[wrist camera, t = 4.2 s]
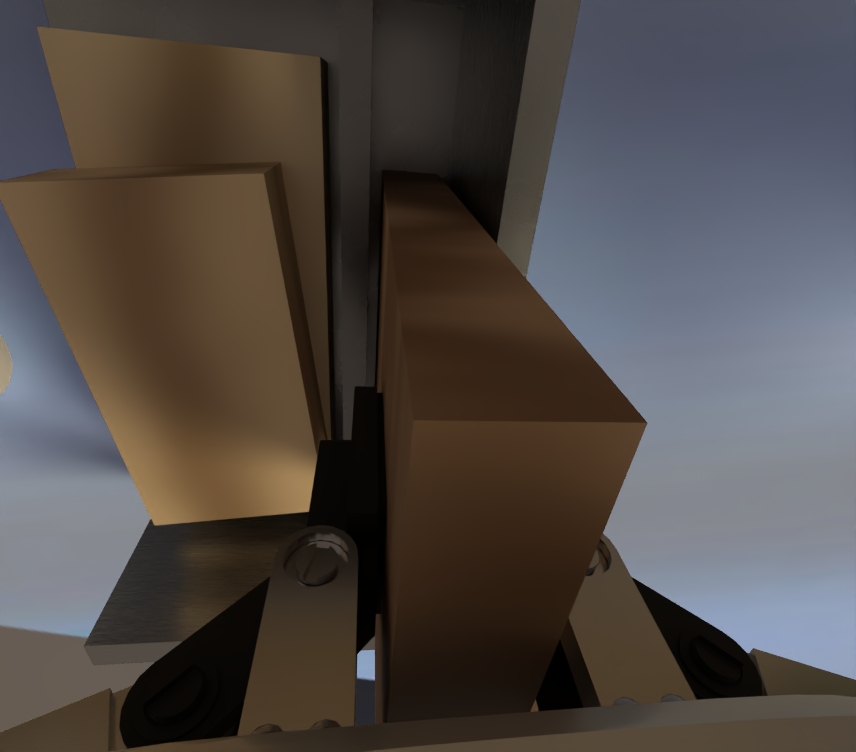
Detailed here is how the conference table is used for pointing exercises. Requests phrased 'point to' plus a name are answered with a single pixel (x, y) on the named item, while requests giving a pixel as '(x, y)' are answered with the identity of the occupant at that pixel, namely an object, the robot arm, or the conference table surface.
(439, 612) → the wooden plank
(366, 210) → the rack
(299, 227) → the offcut lower
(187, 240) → the offcut upper
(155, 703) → the robot arm
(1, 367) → the white brass knuckles
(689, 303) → the conference table surface
